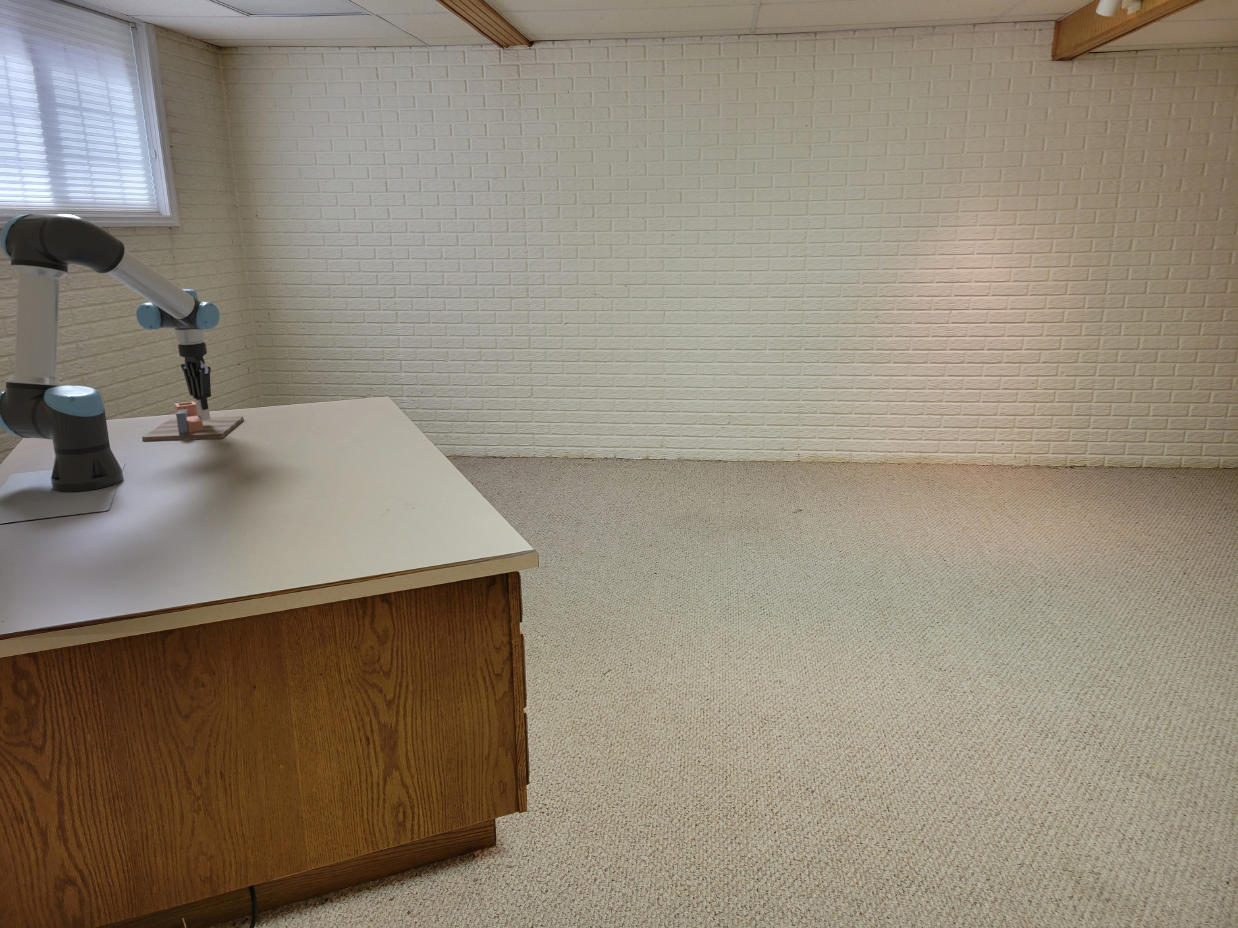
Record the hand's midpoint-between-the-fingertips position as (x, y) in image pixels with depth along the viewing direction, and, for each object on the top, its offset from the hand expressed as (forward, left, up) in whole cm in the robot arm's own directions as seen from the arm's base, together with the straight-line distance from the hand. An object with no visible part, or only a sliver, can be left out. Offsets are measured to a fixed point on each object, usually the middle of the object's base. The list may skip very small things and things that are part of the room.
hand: (204, 419), depth 271 cm
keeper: (-8, +3, -3) cm, 9 cm away
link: (-1, +4, -2) cm, 4 cm away
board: (-1, +3, -3) cm, 4 cm away
